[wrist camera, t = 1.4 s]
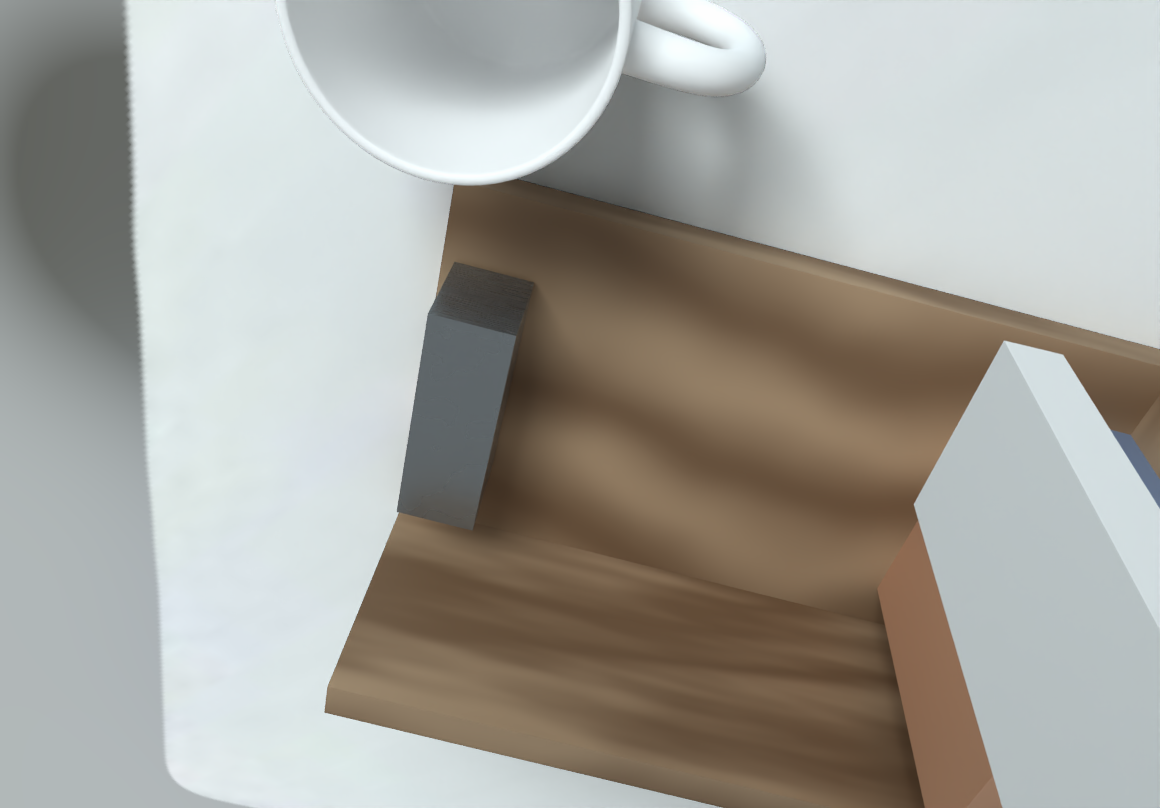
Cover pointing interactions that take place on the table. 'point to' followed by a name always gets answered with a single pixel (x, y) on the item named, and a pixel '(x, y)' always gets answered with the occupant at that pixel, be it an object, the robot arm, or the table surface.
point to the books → (946, 672)
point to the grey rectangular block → (462, 393)
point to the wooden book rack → (692, 510)
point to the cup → (501, 73)
